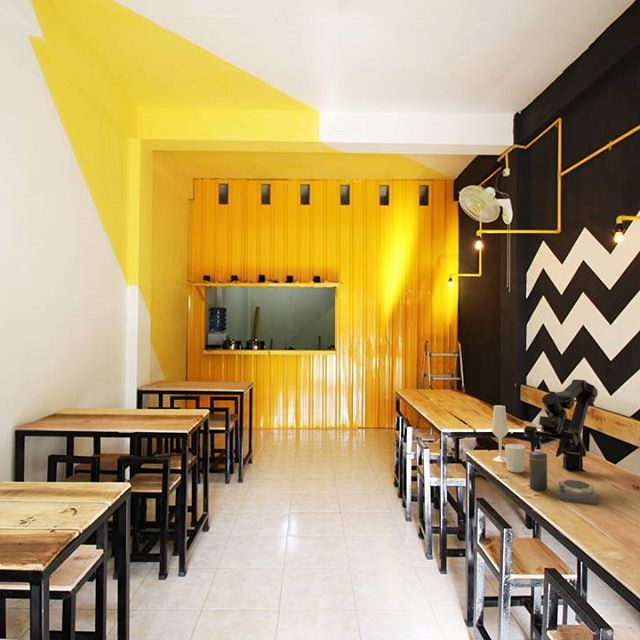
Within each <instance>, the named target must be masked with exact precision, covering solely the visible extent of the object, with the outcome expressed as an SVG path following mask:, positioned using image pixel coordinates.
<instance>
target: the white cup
mask: <svg viewBox="0 0 640 640" xmlns="http://www.w3.org/2000/svg"><path fill="white" fill-rule="evenodd" d="M504 454H505V456H504V457H505V458H506V462H505V463H506V470H507V471H508V472H511V473H522V472H524V471H525V464H526V463H525V462H526V461H525V460H526V446H525V445H523V444H519V443H507V444H505V445H504Z"/></svg>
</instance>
